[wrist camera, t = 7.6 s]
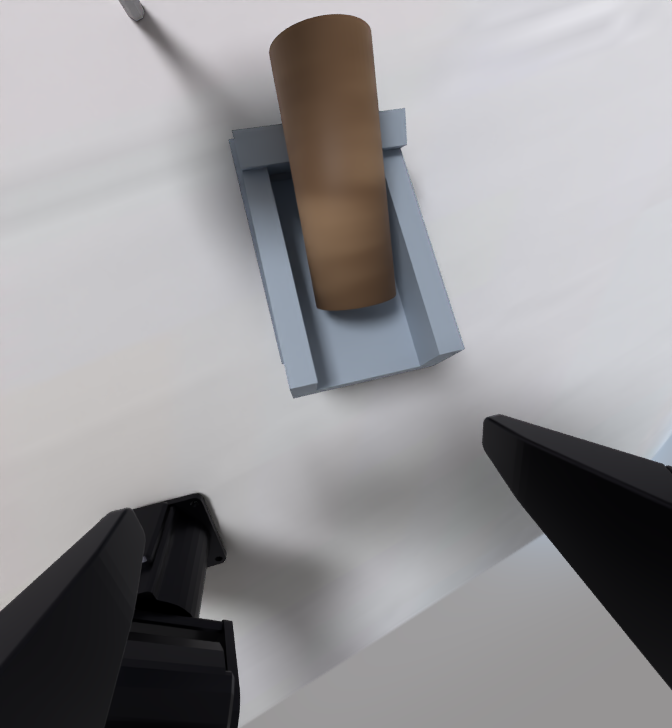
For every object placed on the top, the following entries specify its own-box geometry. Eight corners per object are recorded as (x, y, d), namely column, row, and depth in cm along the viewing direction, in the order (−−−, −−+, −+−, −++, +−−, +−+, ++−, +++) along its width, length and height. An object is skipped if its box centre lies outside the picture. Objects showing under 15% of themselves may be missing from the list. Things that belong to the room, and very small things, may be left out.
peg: (381, 287, 15) (356, 65, 12) (409, 298, 12) (385, 9, 9) (311, 300, 15) (268, 75, 12) (322, 315, 12) (269, 20, 9)
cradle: (395, 336, 21) (470, 400, 14) (281, 360, 20) (294, 445, 13) (378, 122, 16) (479, 38, 9) (229, 141, 15) (200, 67, 8)
